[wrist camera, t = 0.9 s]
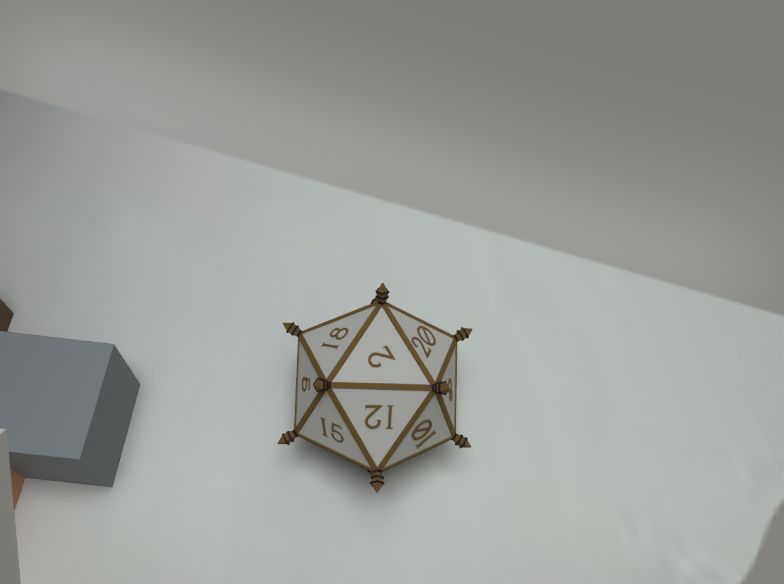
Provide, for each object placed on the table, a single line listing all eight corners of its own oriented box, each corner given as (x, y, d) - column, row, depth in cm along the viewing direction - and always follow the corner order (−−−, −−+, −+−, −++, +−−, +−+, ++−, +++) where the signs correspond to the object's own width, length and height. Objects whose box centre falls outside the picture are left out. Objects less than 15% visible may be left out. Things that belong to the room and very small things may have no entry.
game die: (354, 401, 39) (362, 230, 35) (494, 462, 35) (522, 276, 31) (237, 489, 33) (230, 288, 28) (395, 576, 28) (413, 358, 24)
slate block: (37, 373, 35) (-4, 330, 31) (140, 384, 35) (113, 344, 31) (2, 475, 33) (-48, 445, 28) (112, 487, 33) (79, 459, 28)
